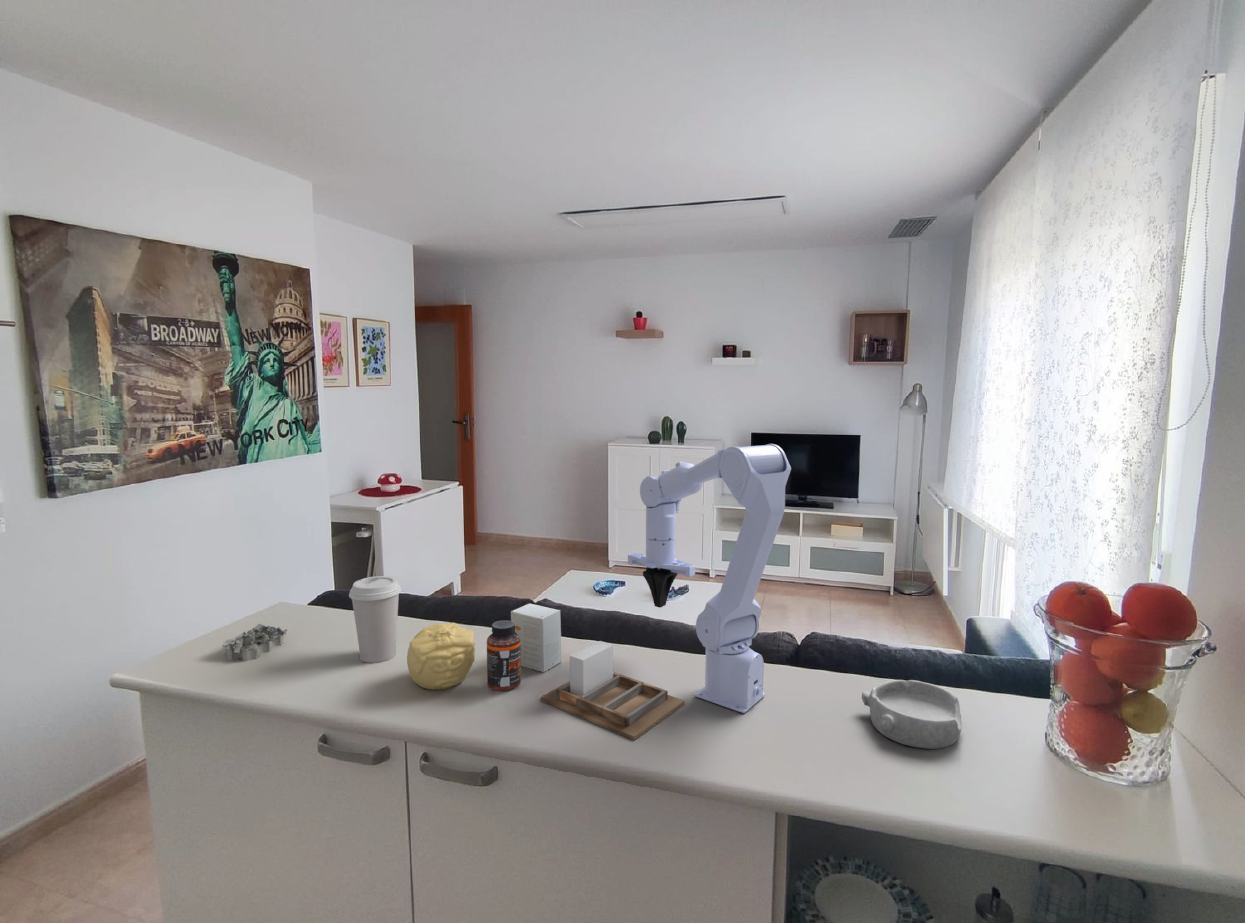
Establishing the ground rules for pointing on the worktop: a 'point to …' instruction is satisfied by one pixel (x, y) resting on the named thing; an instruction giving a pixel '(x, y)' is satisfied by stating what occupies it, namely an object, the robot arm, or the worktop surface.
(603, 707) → the slot rack
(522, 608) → the small box
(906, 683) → the dish
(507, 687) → the supplement bottle
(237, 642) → the egg carton
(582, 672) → the blanking panel
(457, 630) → the sculpture
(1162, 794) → the worktop surface
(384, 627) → the coffee cup
